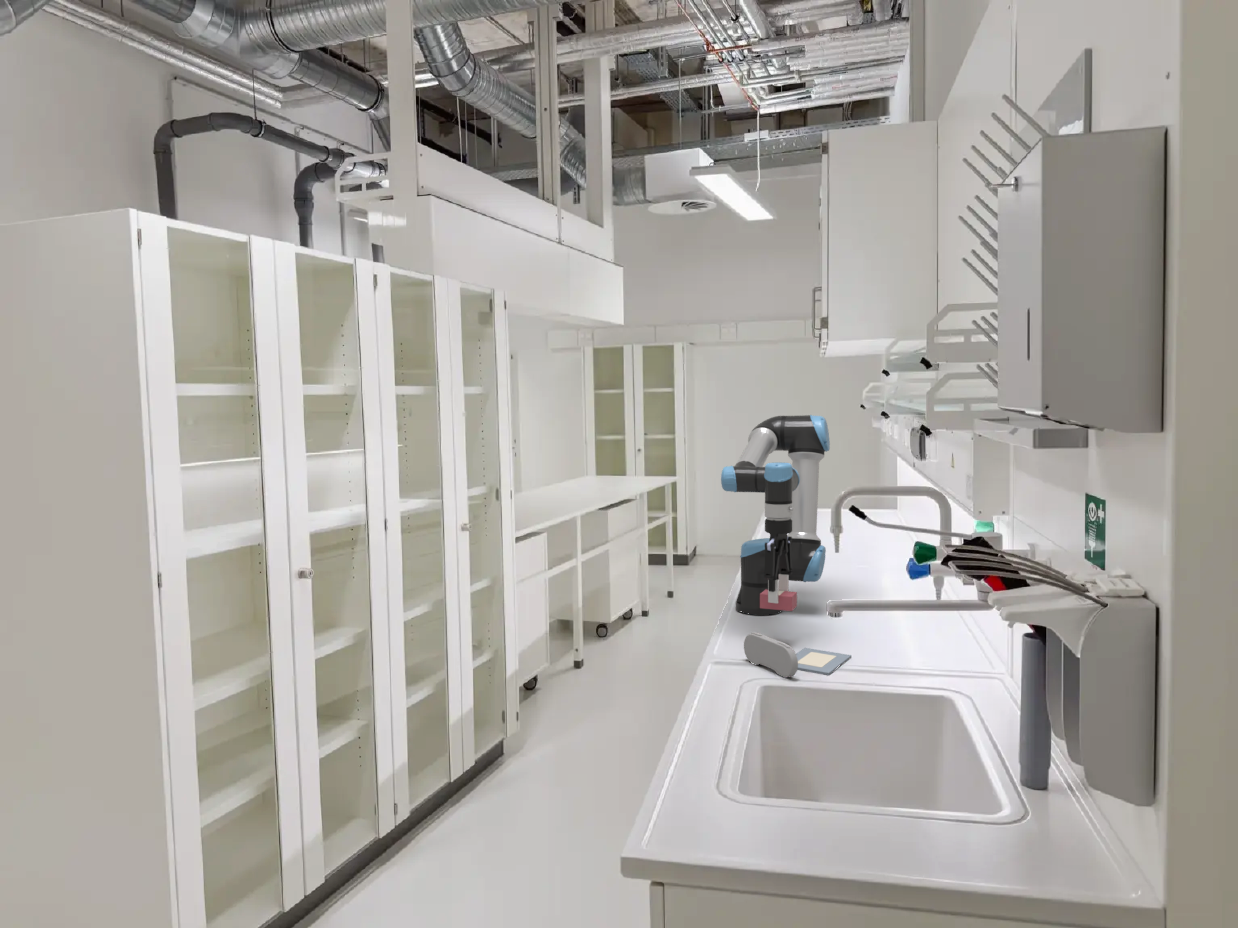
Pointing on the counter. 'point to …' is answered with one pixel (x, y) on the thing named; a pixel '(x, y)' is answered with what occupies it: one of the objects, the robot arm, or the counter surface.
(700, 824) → the counter surface
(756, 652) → the game controller
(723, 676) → the counter surface
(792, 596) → the card deck box
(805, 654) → the grey flat board
